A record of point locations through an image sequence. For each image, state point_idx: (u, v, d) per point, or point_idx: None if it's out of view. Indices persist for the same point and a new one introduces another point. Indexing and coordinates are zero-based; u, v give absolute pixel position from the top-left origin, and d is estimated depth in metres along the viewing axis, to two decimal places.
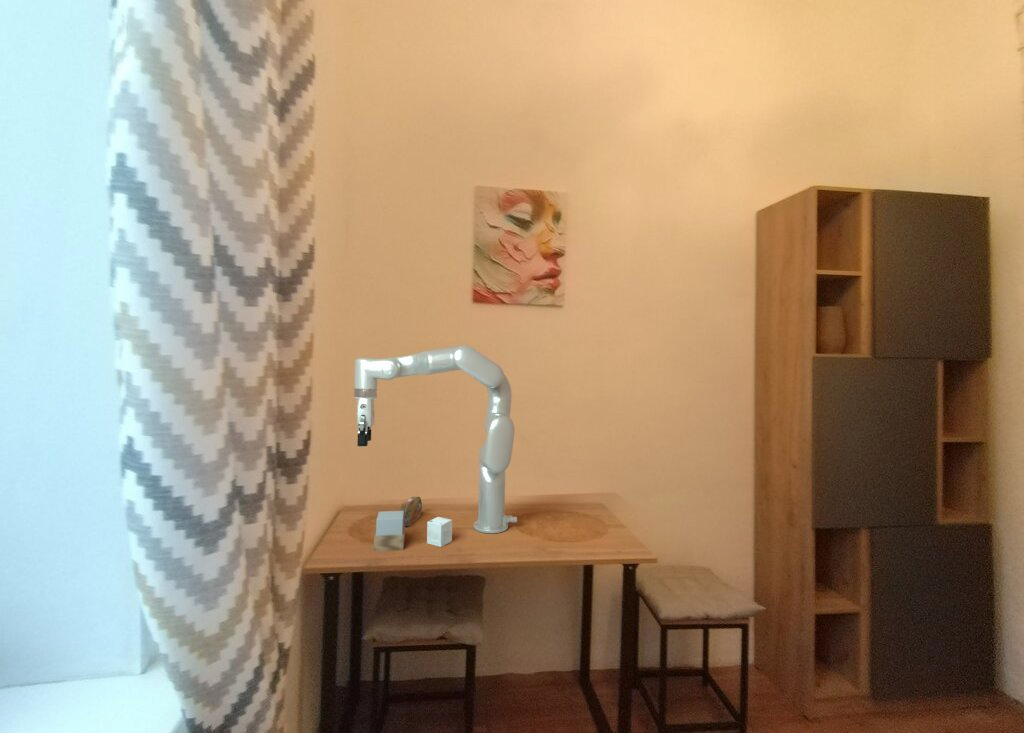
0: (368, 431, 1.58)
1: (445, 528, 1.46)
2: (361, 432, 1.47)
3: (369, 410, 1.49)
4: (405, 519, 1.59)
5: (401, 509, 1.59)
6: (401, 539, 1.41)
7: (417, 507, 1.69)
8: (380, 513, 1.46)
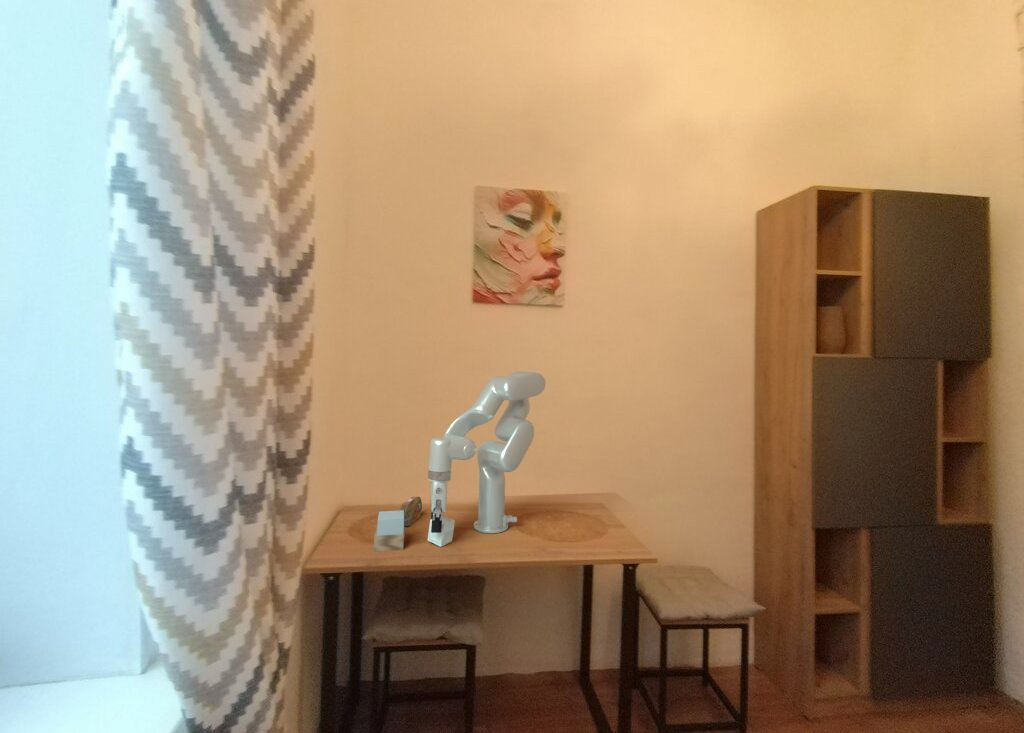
0: None
1: (447, 529, 1.45)
2: (436, 518, 1.41)
3: (444, 495, 1.43)
4: (405, 519, 1.59)
5: (401, 509, 1.59)
6: (401, 539, 1.41)
7: (417, 507, 1.69)
8: (380, 513, 1.46)
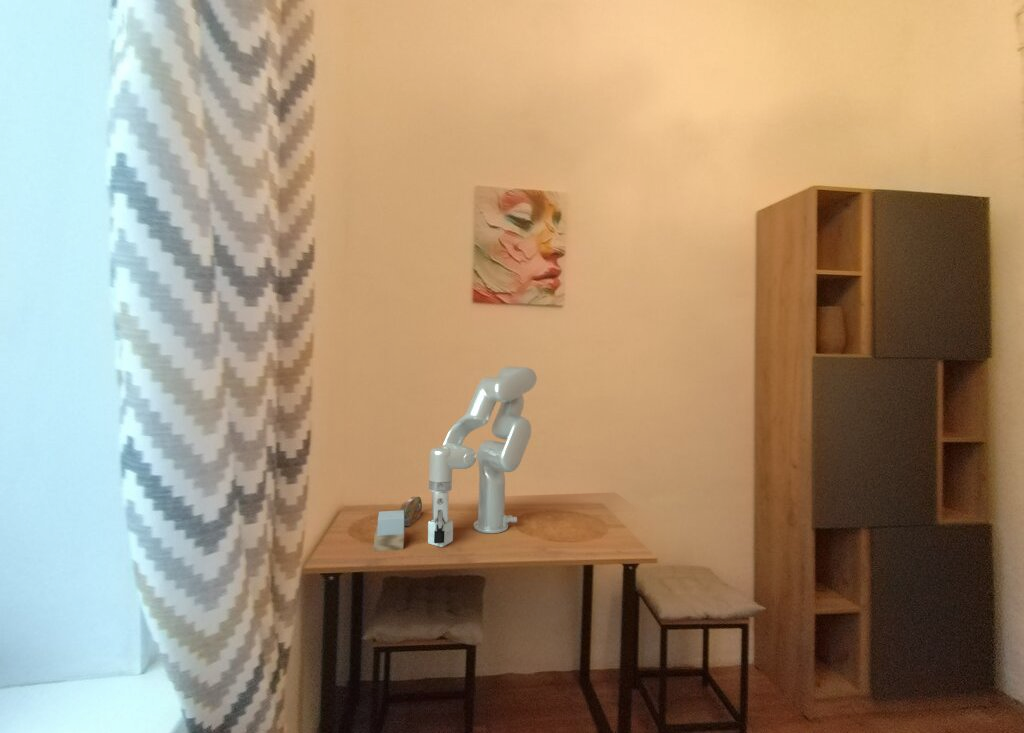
0: None
1: (446, 528, 1.46)
2: (439, 529, 1.41)
3: (446, 505, 1.43)
4: (405, 519, 1.59)
5: (401, 509, 1.59)
6: (401, 539, 1.41)
7: (417, 507, 1.69)
8: (380, 513, 1.46)
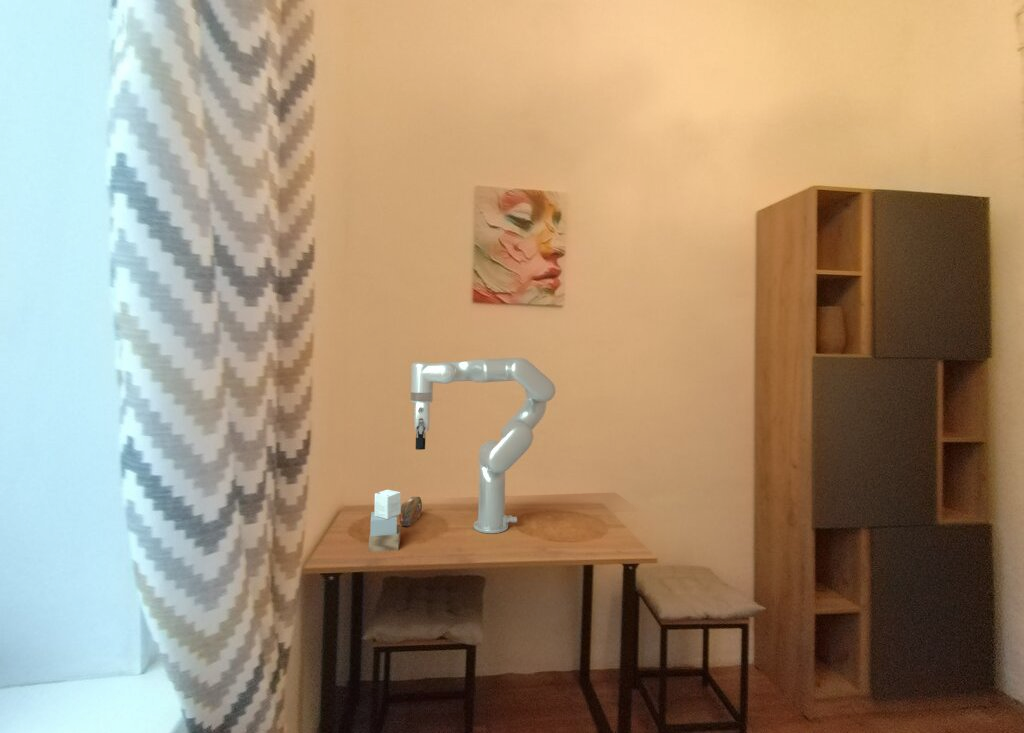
0: None
1: (392, 500, 1.42)
2: (420, 435, 1.48)
3: (427, 414, 1.51)
4: (405, 519, 1.59)
5: (401, 509, 1.59)
6: (396, 539, 1.41)
7: (417, 507, 1.69)
8: (373, 513, 1.45)
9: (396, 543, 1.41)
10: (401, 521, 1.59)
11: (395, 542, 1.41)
